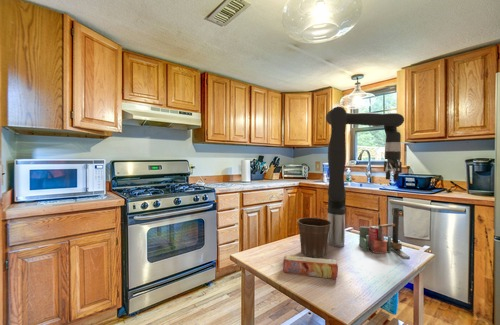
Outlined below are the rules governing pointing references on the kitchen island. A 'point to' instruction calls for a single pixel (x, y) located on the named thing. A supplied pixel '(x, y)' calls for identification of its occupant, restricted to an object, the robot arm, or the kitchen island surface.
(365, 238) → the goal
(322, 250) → the plant pot
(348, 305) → the kitchen island surface
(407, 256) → the rail
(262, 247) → the kitchen island surface
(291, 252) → the kitchen island surface
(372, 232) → the soda can
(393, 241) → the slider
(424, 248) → the kitchen island surface
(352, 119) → the robot arm
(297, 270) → the snack package
